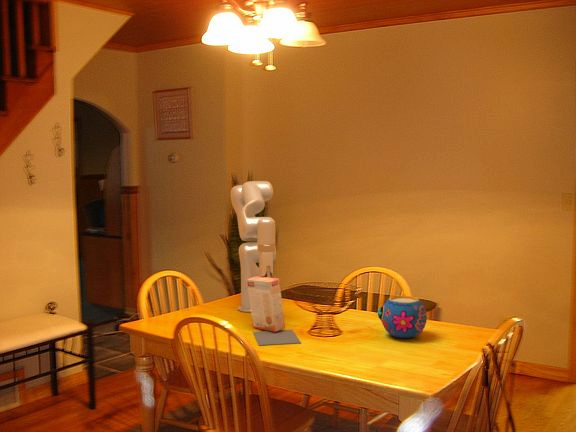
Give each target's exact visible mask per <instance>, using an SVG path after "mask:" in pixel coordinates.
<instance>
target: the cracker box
mask: <svg viewBox="0 0 576 432" xmlns="http://www.w3.org/2000/svg"><path fill="white" fill-rule="evenodd" d="M247 283H248V290H249V299H250V307H251V312H250V315H251V321H252V327H253V328H254V329H258V330H262V331H272V332H277V331H279V330H285V328H286V324H285V323H286V322H285V317H284V316H285V315H284V306H283V299H282V290H281V282H280V278H275V277H271V278H268V277H262V276H261V277H259V276H256V277H252V278H249V279H247Z"/></svg>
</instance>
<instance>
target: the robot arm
mask: <svg viewBox="0 0 576 432" xmlns="http://www.w3.org/2000/svg"><path fill="white" fill-rule="evenodd" d="M273 195H274V188H273V185H272V183H271V182H269V181H267V180H251V181H250V180H249V181H246V182H244V183H243V184H237V185H234V186H232V188H231V189H230V201H231V205H232V207H233V210H234V212H235V213H236V217H237V218H236V219H237V225H238V227H237V228H238V233H239V237H240V239H241V241H242V242H243V241H244V242H243V243H242V244H240V246H239V247H238V257H239V264H240V294H241V295H240V298H241V299H240V301H241V302H240V303H241V305H238V307H237V310H238V311H240V312H243V313H251V307H250V299H249V290H248V283H247V279H249V278H252V277H256V276H259V277H268V278H272V277H273V275H274V261H275V260H276V258H277V247H276V246H277V245H276V220H274V219H273V218H272V217H271V216H256V215H257V214H259V213H261V212H262V211H263V210H264V208H265V206H266V203H265V202H268V201H270V200H271V199H272V198H273ZM257 264H258V265H257Z"/></svg>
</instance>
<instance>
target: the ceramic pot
mask: <svg viewBox="0 0 576 432" xmlns="http://www.w3.org/2000/svg"><path fill="white" fill-rule="evenodd" d="M377 317H378V319H379V320H380V322H381V323H382V326H383V327H384V330H385V331H386V332H387V333H388V334H390V336H393V337H396V338H400V339H411V338H414V337H417V336H419V335H420V334H421V333H422V332H423V331H424V329H425V327H426V324H427V319H428V315H427V309H426V307H425V305H424V304H423V301H421V300H420V298H418V297H414V296H408V295H407V296H406V295H397V296H391V297H389V298H388V299H387V300H386V301H385V302H384V304H383V305H382V306H380V307H379V308H378V310H377Z"/></svg>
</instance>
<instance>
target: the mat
mask: <svg viewBox="0 0 576 432" xmlns="http://www.w3.org/2000/svg"><path fill="white" fill-rule="evenodd" d="M252 333H253V336H254V338H255V341H256V342H257V345H258V346H259V347H262V346H263V347H264V346H281V345H283V346H284V345H297V344H302V341H301V340H300V339H299V337H298V336H297V334H296V333H295V331H294V330H293V329H282V330H279V331H277V332H272V331H267V330H262V331H261V330H258V331H252Z"/></svg>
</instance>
